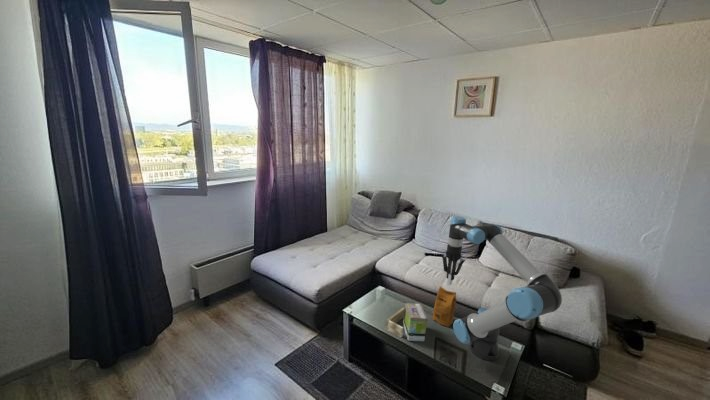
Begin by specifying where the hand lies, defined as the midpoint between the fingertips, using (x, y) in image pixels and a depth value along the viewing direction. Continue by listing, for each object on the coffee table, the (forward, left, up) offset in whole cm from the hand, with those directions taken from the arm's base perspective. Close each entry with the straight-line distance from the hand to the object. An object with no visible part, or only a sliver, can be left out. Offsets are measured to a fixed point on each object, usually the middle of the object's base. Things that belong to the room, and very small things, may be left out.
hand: (449, 284), depth 161 cm
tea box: (+13, +10, -33) cm, 37 cm away
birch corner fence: (+22, +10, -32) cm, 40 cm away
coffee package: (+6, -13, -33) cm, 36 cm away
